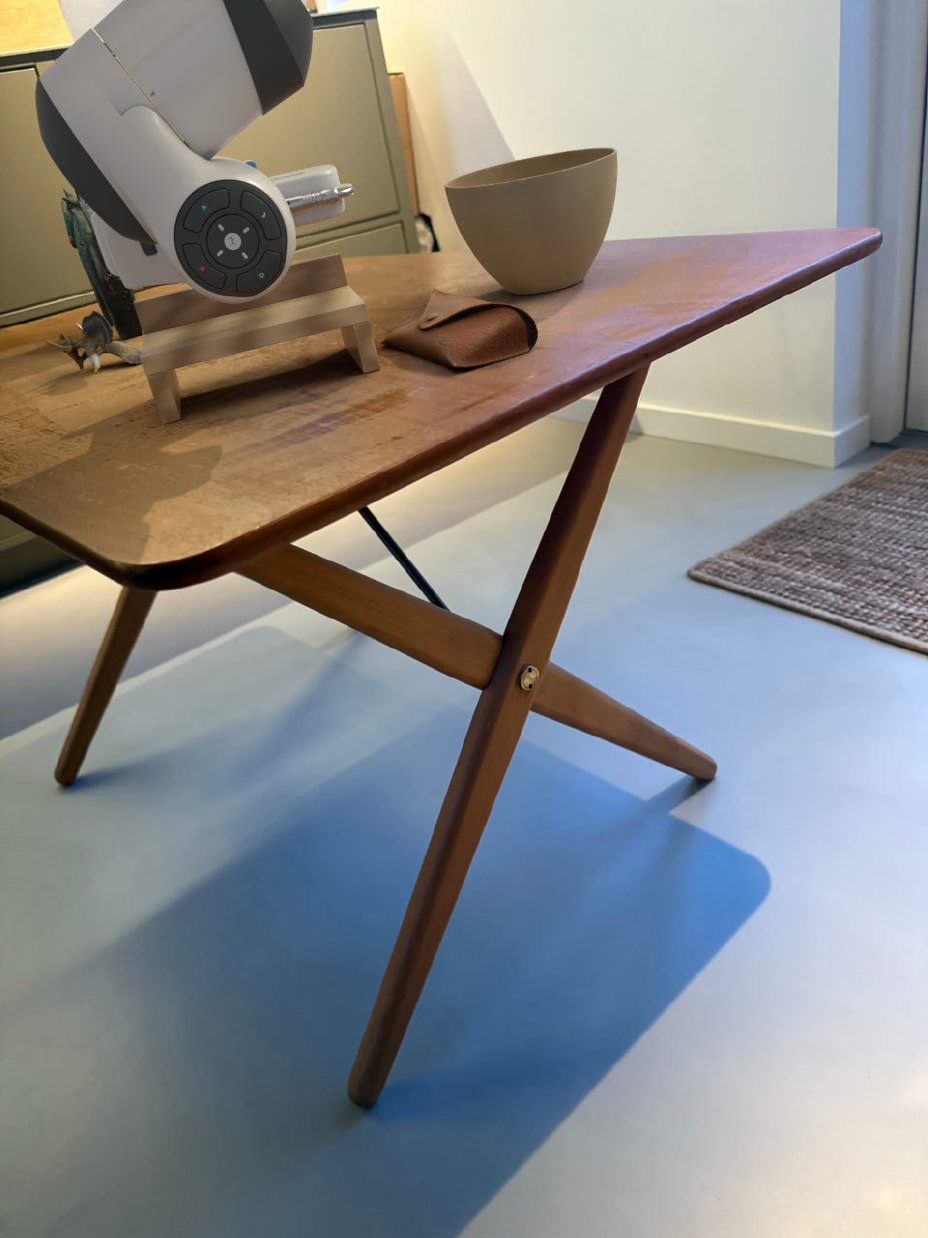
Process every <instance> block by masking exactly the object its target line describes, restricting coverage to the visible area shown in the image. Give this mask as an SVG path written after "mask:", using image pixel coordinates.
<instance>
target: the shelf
mask: <svg viewBox="0 0 928 1238" xmlns="http://www.w3.org/2000/svg"><path fill="white" fill-rule="evenodd" d="M347 279H348V278H347V275H346V271H345V267H344V263H343V258H342V254H341V253H340V252H334V253H331V254H327V255H322V256H318V257H313V258H309V259H306V260H301V261H297V262H293V263H291V265H290V267H289V269H288V271H287V273H286V275H285V276H284V278H283V279H282V281H281V282H280V283H279V284H278V285H277V286H276V287H275V288H274V289H273V290H272V291H271V292H269V293H268V294H266V295H264V296H262V297H260V298H257V299H255V300H252V301H248V302H244V303H237V304H230V303H223V302H219V301H216V300H213V299H211V298H208V297H206V296H204V295H202V294H201V293H199V292H197V291H196V290H194V289H193V288H192V287H187V288H183V289H178V290H173V291H170V292H165V293H161V294H158V295H153V296H149V297H145V298H141V299H135V300H136V301H134V306H135V309H136V312H137V315H138V318H139V321H140V324H141V327H142V331H143V335H144V336H143V341H142V346H141V350H140V351H141V356H140V360H141V363H140V364H141V366H142V369H143V371H144V375H145V378H146V380H147V383H148V386H149V388H150V391H151V395H152V397H153V400H154V403H155V406H156V409H157V412H158V414H159V417H160V419H161V423H162V425H166V424H170V423H174V422H178V421H181V414H182V411H181V410H182V409H181V408H182V387H181V384H180V381H179V378H178V375H177V372H176V369H180V368H184V367H188V366H192V365H196V364H200V363H205V362H208V361H212V360H215V359H220V358H224V357H228V356H232V355H236V354H237V355H238V354H240V353H241V354H242V353H245V352H249V351H252V350H258V349H260V348H261V349H262V348H265V347H269V346H273V345H277V344H281V343H285V342H290V341H294V340H296V339H301V338H307V337H309V336H314V335H318V334H321V333H326V332H330V331H334V330H337V329H340V333H341V336H342V340H343V344H344V348H345V349H346V350H347V352H348V353H349V355H350V356H351V357H352V359H353V360H354V362H355V363H356V364H357V366H358V367H359V368H360V370H361V371H362V373H363V374H367V373H371V372H376V371H378V370H381V365H380V364H381V363H380V361H379V356H378V353H377V352H378V351H377V348H376V343H375V339H374V333H373V329H372V326H371V321H370V316H369V312H368V307H367V303H366V302H365V301H364V300H363V299H362V298H361V297H360V296H359V295H358V294H357V293H356V292H355V291H354V289H352V288H351V287H350V286H349V283H348V280H347Z"/></svg>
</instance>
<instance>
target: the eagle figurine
mask: <svg viewBox="0 0 928 1238" xmlns="http://www.w3.org/2000/svg"><path fill="white" fill-rule="evenodd" d="M75 325H76V326H77V328H78V329H79V330H80V331H81V332H82V334H83V337H82V338H81V339H79V340H76V339H75V338H73V337H72V336H71V335H66V336H65V334H63V333H60V335H59V336H58V342H59V344H60V345H59V344H57V343H54V342H52V341H50V340H48V339H44V342H45V343H46V344H47V345H48V346H49V347H51V348H52V349H54V350H58V351H60V352H63V353H65V354H67V356H68V357H70V358H71V359H72V360H73V361H74V362H75V363H76V365H77V366H78V367H79V369H80V370H81V371H83V370H84V367H85V366H84V364H85V363H84V362H85V361H86V360H87V359H89V362H90V364H91V366H92V368H93V370H94V372H93V374H97V373H98V371H99V369H100V368H101V361H100V356H102V355H105V354H111V355H113V356H115V357H117V358H120V359H121V360H123V361H124V362H126V363H127V364H129V365H132V364H135V365H138V364H142V363H141V360H140V356H141V350H139V349H137V348H136V347H134V346H132V345H130V344H128V343H125V342H122V341H116V340H114V339H113V338H114V337H115V335H114V333H115V332H114V330H113V328H111V326H112V325H110V324H109V323H108V321H107V320H106V319H105V317H104V316H103V313H100V312H99V311H97V310H92V311H91V313H90V314H89V315H86V316H84V317H83V318H82V322H81V324H79V323H78V322H76V323H75ZM67 338H68V339H67ZM81 348H82V349H85V350H84V351H83V353H82V354H81V355H80V354H79V349H81Z"/></svg>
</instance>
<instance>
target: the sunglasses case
mask: <svg viewBox="0 0 928 1238" xmlns="http://www.w3.org/2000/svg"><path fill="white" fill-rule="evenodd" d="M538 339H539V330H538V325H537V323H536V321H535V320H534V319H533V317H532V316H531V314H529V313H528V312H527V311H525V310H524V309H523V308H522V307H518V306H517V305H513V304H510V303H505V302H491V301H487V300H483V299H480V298H475V297H470V296H466V295H458V294H454V293H448V292H444V291H442V290H440V289H438V288H433V289H432V291H431V294H430V296H429V298H428V299H427V300H426V301H424V303H422V304H421V305H420V306H418V308H416V309H415V310H414V311H413V312H412V313H411V314H410V315H408V316H407V317H406V318H405V319H404V320H403V321H402V322H400V323H399V324H398V325H397V326H396V327H395V328H394V329H392V330H391V331H390V332H389V334H387V335H386V336H385V337H384V338H383V339H382V340H381V341H380V343H379V344H380V345H382V346H388V347H392V348H396V349H399V350H402V351H405V352H408V353H410V354H413V355H415V356H418V357H421V358H424V359H426V360H429V361H431V362H433V363H436V364H439V365H442V366H445V367H451V368H455V369H457V368H458V369H459V368H461V369H467V368H473V367H479V366H486V365H490V364H491V365H492V364H495V363H499V362H502V361H505V360H509V359H511V358H515V357H519V356H521V355H524V354H527V353H530V352H531V351H532V349H534V348H535V346H536V344H537V341H538Z"/></svg>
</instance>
